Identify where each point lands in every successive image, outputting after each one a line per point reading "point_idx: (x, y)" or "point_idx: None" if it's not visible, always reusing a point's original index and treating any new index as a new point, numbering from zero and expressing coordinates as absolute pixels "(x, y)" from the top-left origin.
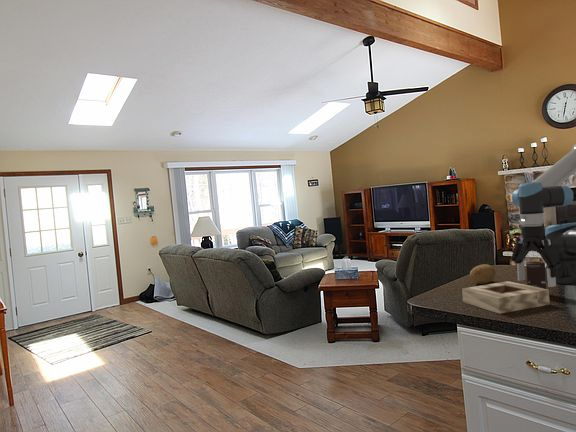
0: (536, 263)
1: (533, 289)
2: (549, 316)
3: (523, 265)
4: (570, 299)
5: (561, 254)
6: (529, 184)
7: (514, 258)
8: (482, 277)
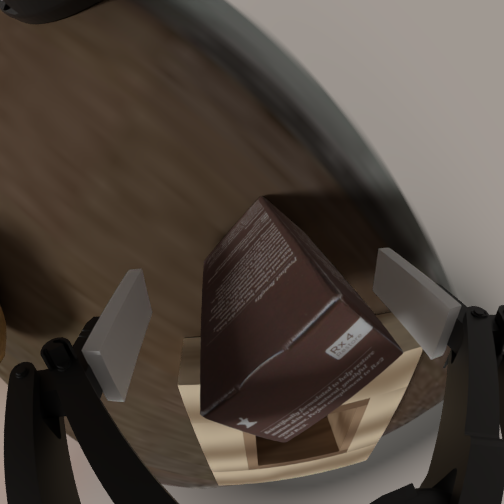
0: (344, 399)
1: (383, 383)
2: (438, 365)
3: (111, 343)
4: (400, 195)
5: None
6: None
7: (61, 422)
8: (4, 345)
